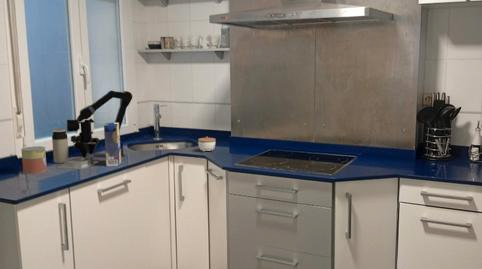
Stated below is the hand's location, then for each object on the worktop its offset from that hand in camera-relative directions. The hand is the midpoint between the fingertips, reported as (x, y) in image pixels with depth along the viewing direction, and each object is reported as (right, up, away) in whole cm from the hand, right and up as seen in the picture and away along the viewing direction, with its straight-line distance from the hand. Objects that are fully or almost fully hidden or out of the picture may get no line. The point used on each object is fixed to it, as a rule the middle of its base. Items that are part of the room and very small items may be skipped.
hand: (87, 157), depth 266 cm
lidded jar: (+67, +2, +20) cm, 70 cm away
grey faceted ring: (-1, -4, -15) cm, 15 cm away
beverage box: (+18, -3, -12) cm, 22 cm away
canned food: (-18, -6, -28) cm, 34 cm away
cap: (0, -1, 0) cm, 1 cm away
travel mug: (-13, -2, -6) cm, 14 cm away
